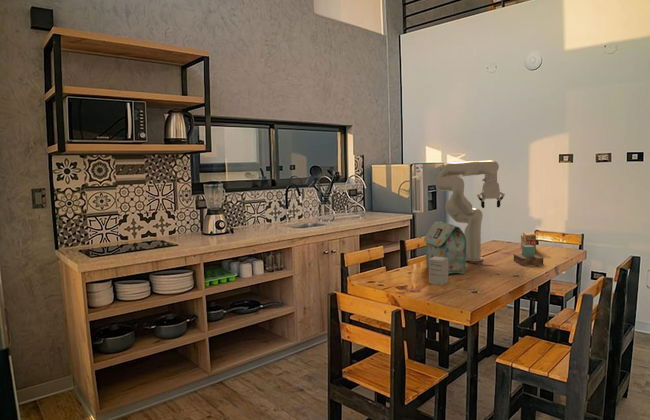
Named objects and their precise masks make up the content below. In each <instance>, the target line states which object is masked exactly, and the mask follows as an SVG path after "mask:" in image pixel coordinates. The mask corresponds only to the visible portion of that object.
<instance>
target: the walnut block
mask: <svg viewBox="0 0 650 420" xmlns="http://www.w3.org/2000/svg"><path fill="white" fill-rule="evenodd" d="M513 262H515V263H516V264H519V265H521V266H543V265H544V257H542V256H540V255H537V254H534V257H524V256H522V253H520V254H519V253H518V254H513Z"/></svg>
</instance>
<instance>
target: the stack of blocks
mask: <svg viewBox="0 0 650 420" xmlns="http://www.w3.org/2000/svg"><path fill="white" fill-rule="evenodd" d="M520 242H521V243H520V248H521V249H522V245H532V246H534V247H535V249H534V254H535V255H537V254H536V253H537V235H536V233H535V232H531V231H528V232H527V231H523V232H522V234H521V235H520Z"/></svg>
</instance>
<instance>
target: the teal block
mask: <svg viewBox="0 0 650 420" xmlns="http://www.w3.org/2000/svg"><path fill="white" fill-rule="evenodd" d="M534 249H535V247H534V246H532V245H522V248H521V254H522V256H524V257H534Z"/></svg>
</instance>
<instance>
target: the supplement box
mask: <svg viewBox="0 0 650 420" xmlns="http://www.w3.org/2000/svg"><path fill="white" fill-rule="evenodd" d="M428 283H431V285H435V284H438V285H437V286H441V285H443V286H444V285H446V284H448V283H449V274H448V258H444V257H433V258H430V259H429V268H428Z"/></svg>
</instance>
